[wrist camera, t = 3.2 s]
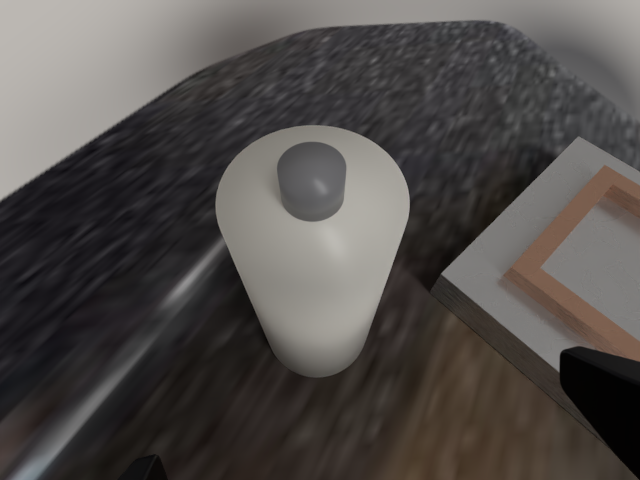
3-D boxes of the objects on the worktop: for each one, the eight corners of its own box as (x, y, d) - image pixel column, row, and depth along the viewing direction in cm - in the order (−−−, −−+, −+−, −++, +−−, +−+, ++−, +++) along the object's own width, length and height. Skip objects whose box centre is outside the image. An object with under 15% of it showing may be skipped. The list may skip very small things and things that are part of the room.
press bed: (783, 301, 22) (856, 276, 19) (678, 507, 17) (752, 515, 14) (558, 162, 27) (587, 124, 24) (429, 292, 23) (446, 265, 20)
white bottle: (388, 327, 22) (463, 170, 10) (314, 401, 20) (303, 311, 8) (319, 261, 24) (316, 69, 12) (246, 323, 22) (162, 163, 10)
